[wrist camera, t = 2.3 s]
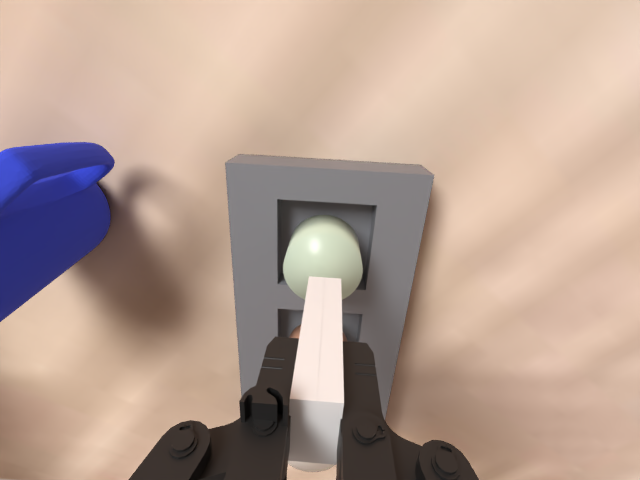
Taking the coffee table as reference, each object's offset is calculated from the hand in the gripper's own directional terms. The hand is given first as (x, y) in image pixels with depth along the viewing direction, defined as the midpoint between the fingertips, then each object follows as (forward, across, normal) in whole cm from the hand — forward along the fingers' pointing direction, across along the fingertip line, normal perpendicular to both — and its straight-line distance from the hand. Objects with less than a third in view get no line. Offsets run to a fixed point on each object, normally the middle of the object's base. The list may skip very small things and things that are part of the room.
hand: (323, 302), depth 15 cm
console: (+9, 0, -8) cm, 12 cm away
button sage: (+6, 0, 0) cm, 6 cm away
